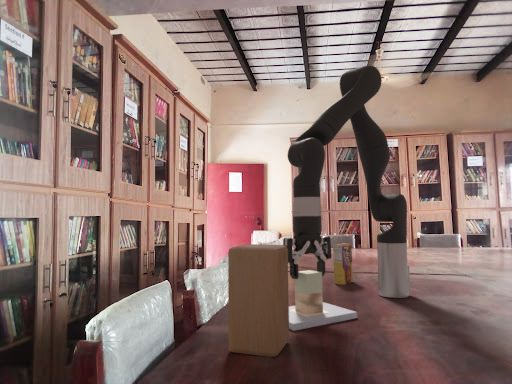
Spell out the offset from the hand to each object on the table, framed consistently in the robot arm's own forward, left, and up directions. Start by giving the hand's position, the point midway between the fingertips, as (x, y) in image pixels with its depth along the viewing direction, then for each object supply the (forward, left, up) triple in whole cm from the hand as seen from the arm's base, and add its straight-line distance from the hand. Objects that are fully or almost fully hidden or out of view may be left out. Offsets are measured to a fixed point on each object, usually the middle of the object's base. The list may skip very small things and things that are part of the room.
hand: (308, 277), depth 94 cm
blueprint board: (0, 0, -10) cm, 10 cm away
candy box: (-43, -32, -10) cm, 55 cm away
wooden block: (+22, +12, -10) cm, 27 cm away
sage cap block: (0, 0, -4) cm, 4 cm away
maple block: (0, 0, -9) cm, 9 cm away
